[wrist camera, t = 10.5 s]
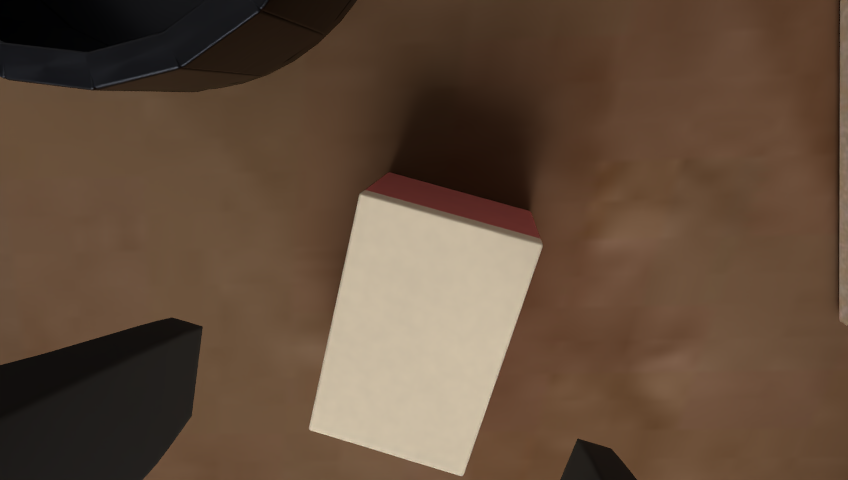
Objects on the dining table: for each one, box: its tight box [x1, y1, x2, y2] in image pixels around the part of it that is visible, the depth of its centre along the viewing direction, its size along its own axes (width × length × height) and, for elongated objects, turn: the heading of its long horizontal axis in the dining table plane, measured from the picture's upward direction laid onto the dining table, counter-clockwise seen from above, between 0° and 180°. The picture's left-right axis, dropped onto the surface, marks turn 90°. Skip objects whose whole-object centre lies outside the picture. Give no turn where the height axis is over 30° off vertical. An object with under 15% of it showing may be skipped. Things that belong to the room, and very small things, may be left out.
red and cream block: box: [309, 172, 543, 476], centre depth 14 cm, size 7×4×4 cm, turn 165°
